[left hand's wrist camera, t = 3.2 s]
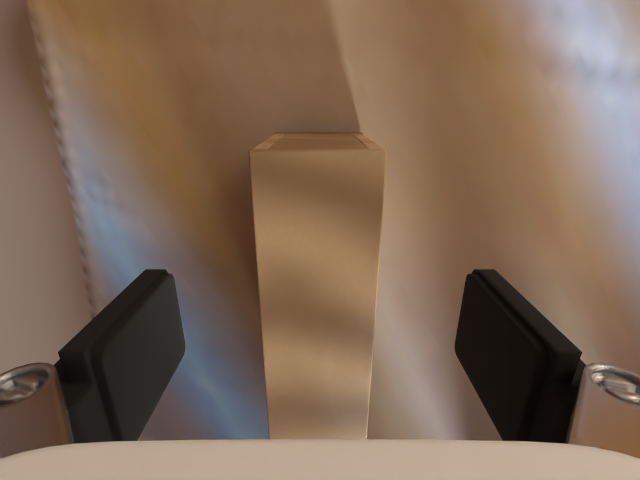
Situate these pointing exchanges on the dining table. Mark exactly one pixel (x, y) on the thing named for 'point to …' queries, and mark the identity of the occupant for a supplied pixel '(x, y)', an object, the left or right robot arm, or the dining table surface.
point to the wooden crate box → (317, 278)
